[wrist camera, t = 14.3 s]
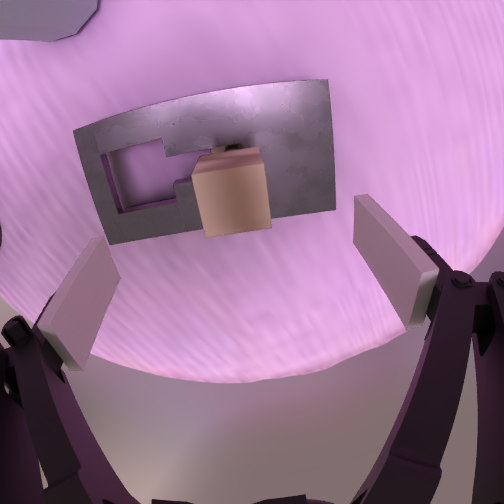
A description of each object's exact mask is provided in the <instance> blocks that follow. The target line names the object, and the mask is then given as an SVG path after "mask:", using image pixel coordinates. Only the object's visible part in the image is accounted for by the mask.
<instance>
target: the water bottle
mask: <svg viewBox="0 0 504 504" xmlns="http://www.w3.org/2000/svg"><path fill="white" fill-rule="evenodd" d="M97 1H98V0H0V39H7V40H33V41H46V42H51V41H54V40H58V39H61V38H64V37H67V36H71V35H74V34H76V33H77V32H78V30H79V29H80V28H81V27H82V26H83V24H84V23H85V22H86V21H87V20H88V19H89V17H90V16H91V15H92V14H93V13H94V12H95V11H96V10H97Z"/></svg>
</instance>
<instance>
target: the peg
mask: <svg viewBox="0 0 504 504" xmlns="http://www.w3.org/2000/svg"><path fill="white" fill-rule="evenodd" d="M191 176H192V181H193V185H194V190H195V194H196V198H197V203H198V207H199V211H200V216H201V220H202V224H203V228H204V232H205V236H206V238H208V237H214V236H221V235H227V234H234V233H241V232H247V231H254V230H261V229H268V228H272V224H271V216H270V208H269V200H268V192H267V184H266V176H265V169H264V162H263V160H262V157H261V154H260V151H259V148H258V147H253V148H246V149H243V147H242V143H239V144H233V145H227V146H221V147H215V148H211V154H209V155H204V156H200V157H199V159H198V161H197V164H196V166H195V168H194V170H193V172H192V175H191Z"/></svg>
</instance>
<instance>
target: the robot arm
mask: <svg viewBox="0 0 504 504" xmlns="http://www.w3.org/2000/svg"><path fill="white" fill-rule="evenodd" d="M353 243H354V245H355V246H356V248H357V249H358V251H359V252H360V254H361V255H362V257H363V258H364V260H365V262H366V263H367V265H368V266H369V268H370V269H371V271H372V273H373V274H374V276H375V277H376V279H377V281H378V282H379V284H380V285H381V287H382V289H383V290H384V292H385V294H386V295H387V297H388V299H389V300H390V302H391V304H392V305H393V307H394V309H395V311H396V312H397V314H398V316H399V317H400V319H401V321H402V323H403V324H404V326H405V328H406V330H409V329H413V328H416V327H419V326H422V325H423V323H424V320H425V317H426V314H427V316H428V317H429V319H430V321H431V323H430V326H429V328H428V331H427V334H426V336H425V339H424V340H425V342H424V346H423V349H422V352H421V355H420V358H419V362H418V365H417V368H416V370H415V373H414V376H413V379H412V382H411V384H410V387H409V390H408V392H407V395H406V397H405V400H404V402H403V405H402V407H401V410H400V412H399V414H398V417H397V419H396V421H395V424H394V426H393V428H392V430H391V432H390V434H389V436H388V438H387V441H386V443H385V445H384V447H383V449H382V451H381V453H380V455H379V457H378V459H377V460H376V462H375V464H374V466H373V468H372V470H371V471H370V473H369V475H368V477H367V478H366V480H365V481H364V483H363V485H362V486H361V487H360V489H359V490H358V492H357V494H356V495H355V497H354V498H353V500H352V501H351V503H350V504H430V502H431V500H432V498H433V496H434V493H435V491H436V489H437V487H438V484H439V481H440V478H441V474H442V470H441V468H440V462H441V459H442V456H443V454H444V451H445V448H446V445H447V442H448V439H449V436H450V433H451V430H452V426H453V423H454V420H455V416H456V412H457V409H458V405H459V401H460V397H461V392H462V388H463V383H464V379H465V374H466V368H467V362H468V357H469V351H470V344H471V337H472V341H473V349H474V358H475V368H476V381H477V401H478V437H477V457H476V468H475V478H474V486H473V495H472V504H504V272H501V271H500V272H494V273H492V275H491V277H490V279H489V282H475V280H474V279H473V278H472V277H471V276H470V275H469V274H467V273H465V272H462V271H457V270H455V271H453V270H452V269H451V268H450V266H449V265H448V264H447V263H446V262H445V261H444V260H443V259H442V258H441V257H440V255H439V254H437V252H436V251H435V250H434V249H432V247H431V246H430V245H429V244H428V243H427V242H426V241H425V240H423V239H422V238H420V237H418V236H409V235H408V234H407V233H406V232H405V231H404V229H403V228H402V227H401V226H400V225H399V224H398V223H397V222H396V221H395V220H394V219H393V218H392V217H391V216H390V215H389V214H388V213H387V212H386V211H385V210H384V209H383V208H382V207H381V206H380V205H379V204H378V203H377V202H376V201H375V200H374V199H372V198H371V197H370V196H369V195H368V194H365V195H357V196H354V236H353ZM0 245H1V228H0ZM119 280H120V275H119V273H118V271H117V268H116V266H115V264H114V261H113V259H112V257H111V254H110V252H109V249H108V247H107V244H106V242H105V239H104V237H103V236H102V237H97V238H93V239H91V240H90V242H89V243H88V245H87V246H86V247H85V249H84V250H83V252H82V253H81V255H80V256H79V258H78V259H77V260H76V262H75V263H74V265H73V266H72V268H71V269H70V271H69V272H68V274H67V275H66V277H65V279H64V280H63V282H62V283H61V285H60V286H59V288H58V290H57V291H56V292H55V293H54V294H53V295H52V296H51V297H50V299H49V300H48V302H47V303H46V306H45V307H44V308H43V310H42V312H41V314H40V315H39V317H38V319H37V321H36V322H35V324H34V326H33V328H32V329H31V328H30V327H29V325H28V324H27V322H26V321H25V319H24V318H23V316H20V315H19V316H15V317H13V318H11V319H10V320H9V321H8V322H7V323H6V324H5V325H4V327H3V329H2V332H1V334H2V335H3V337H4V338H5V340H6V341H7V342H8V343H9V345H10V346H11V347H9V348H6V349H4V347H3V346H2V345H1V343H0V504H140V503H139V502H138V501H137V500H136V499H135V498H134V497H132V496H131V495H130V494H129V492H128V491H127V490H126V488H125V487H124V485H123V484H122V482H121V481H120V479H119V478H118V476H117V475H116V473H115V472H114V470H113V468H112V467H111V465H110V464H109V462H108V460H107V459H106V457H105V455H104V453H103V452H102V450H101V448H100V446H99V445H98V443H97V441H96V439H95V437H94V435H93V433H92V432H91V430H90V428H89V426H88V424H87V422H86V420H85V418H84V416H83V414H82V412H81V409H80V407H79V405H78V403H77V401H76V399H75V396H74V394H73V392H72V389H71V387H70V385H69V382H68V380H67V377H66V375H65V373H64V371H63V370H62V369H61V366H62V364H63V362H64V363H65V365H66V366H67V367H68V368H69V369H70V370H73V371H83V370H84V368H85V365H86V362H87V359H88V357H89V354H90V351H91V349H92V346H93V343H94V341H95V338H96V335H97V333H98V330H99V328H100V325H101V323H102V320H103V318H104V315H105V313H106V310H107V308H108V306H109V303H110V301H111V299H112V296H113V294H114V292H115V289H116V287H117V285H118V283H119ZM4 385H5V386H6V387H7V388H8V389H9V394H8V393H7V392H6V390H5V387H4ZM38 459H39V461H40V464H41V467H42V470H43V472H44V475H45V477H46V480H47V482H48V487H47V488H45V489H44V490H43V485H42V479H41V474H40V467H39V461H38ZM152 504H193V503H189V502H181V501H167V500H156V499H152ZM253 504H334V503H330V502H326V501H321V500H313V499H306V495H305V494H304V495H298V496H291V497H284V498H276V499H267V500H263V501H260V502H257V503H253Z"/></svg>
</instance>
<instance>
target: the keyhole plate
mask: <svg viewBox="0 0 504 504" xmlns="http://www.w3.org/2000/svg"><path fill="white" fill-rule="evenodd" d="M73 134H74V138H75V141H76V145H77V149H78V152H79V156H80V160H81V163H82V166H83V170H84V173H85V176H86V180H87V183H88V186H89V189H90V192H91V195H92V198H93V201H94V204H95V207H96V210H97V212H98V215H99V218H100V221H101V224H102V226H103V229H104V232H105V234H106V237H107V239H108V242H109V244H110V245H113V244H119V243H124V242H130V241H135V240H141V239H147V238H152V237H158V236H164V235H170V234H176V233H182V232H188V231H194V230H200V229H204V228H203V224H202V220H201V216H200V211H199V207H198V203H197V198H196V194H195V190H194V185H193V181H192V177H190V178H184V179H179V180H176V181H175V182H174V184H173V186H174V190H175V194H176V198H174V199H168V200H163V201H158V202H153V203H148V204H144V205H139V206H134V207H129V208H125V209H122V206H121V203H120V199H119V196H118V193H117V190H116V186H115V183H114V180H113V176H112V173H111V170H110V166H109V162H108V159H107V155H106V153H108V152H111V151H115V150H118V149H122V148H125V147H129V146H132V145H136V144H140V143H144V142H148V141H152V140H156V139H160V138H162V140H163V144H164V149H165V153H166V157H169V156H174V155H178V154H183V153H188V152H193V151H198V150H204V149H209V148H215V147H221V146H227V145H233V144H239V143H242V147H243V149H246V148H253V147H258V148H259V151H260V154H261V157H262V160H263V162H264V169H265V176H266V184H267V192H268V200H269V208H270V216H271V219H272V218H279V217H287V216H294V215H301V214H309V213H316V212H324V211H331V210H336V191H335V164H334V145H333V129H332V116H331V105H330V94H329V84H328V80H300V81H287V82H276V83H266V84H257V85H249V86H242V87H235V88H229V89H223V90H217V91H211V92H206V93H201V94H196V95H191V96H186V97H182V98H177V99H173V100H169V101H165V102H161V103H157V104H153V105H149V106H145V107H142V108H138V109H135V110H131V111H128V112H125V113H121V114H118V115H115V116H112V117H109V118H106V119H103V120H100V121H97V122H94V123H92V124H89V125H86V126H84V127H81V128H79V129H76V130H74V131H73Z"/></svg>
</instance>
